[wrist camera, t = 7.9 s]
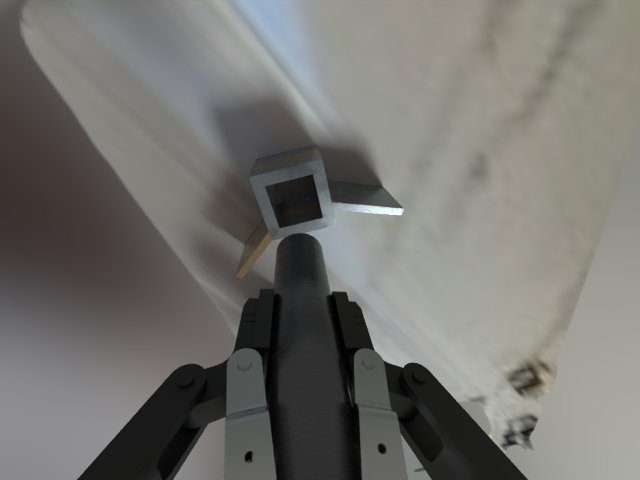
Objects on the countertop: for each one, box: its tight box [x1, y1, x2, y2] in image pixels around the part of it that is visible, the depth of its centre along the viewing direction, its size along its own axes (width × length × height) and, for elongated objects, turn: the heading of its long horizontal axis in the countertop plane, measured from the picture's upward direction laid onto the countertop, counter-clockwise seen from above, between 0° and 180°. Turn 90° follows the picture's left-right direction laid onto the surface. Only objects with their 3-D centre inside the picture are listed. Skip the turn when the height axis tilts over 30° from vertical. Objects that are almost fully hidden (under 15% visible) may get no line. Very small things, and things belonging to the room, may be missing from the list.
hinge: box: [236, 145, 403, 279], centre depth 30 cm, size 11×20×7 cm, turn 102°
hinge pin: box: [265, 233, 358, 480], centre depth 12 cm, size 3×3×14 cm
